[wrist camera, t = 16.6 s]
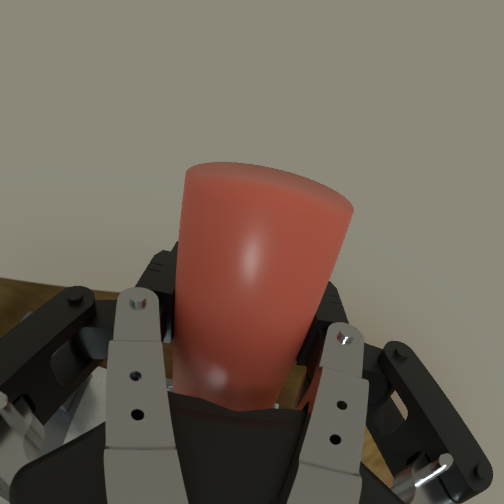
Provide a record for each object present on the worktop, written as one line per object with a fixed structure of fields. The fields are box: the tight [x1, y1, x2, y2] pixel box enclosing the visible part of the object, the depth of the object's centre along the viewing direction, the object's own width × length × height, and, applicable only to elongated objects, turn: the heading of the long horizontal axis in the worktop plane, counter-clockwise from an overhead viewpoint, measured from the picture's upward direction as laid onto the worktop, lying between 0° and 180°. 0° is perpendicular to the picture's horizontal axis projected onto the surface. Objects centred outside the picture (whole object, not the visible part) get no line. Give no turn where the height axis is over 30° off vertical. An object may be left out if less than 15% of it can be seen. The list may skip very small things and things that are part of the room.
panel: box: [0, 366, 279, 504], centre depth 11 cm, size 20×20×2 cm
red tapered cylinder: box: [173, 162, 354, 412], centre depth 10 cm, size 5×5×11 cm
